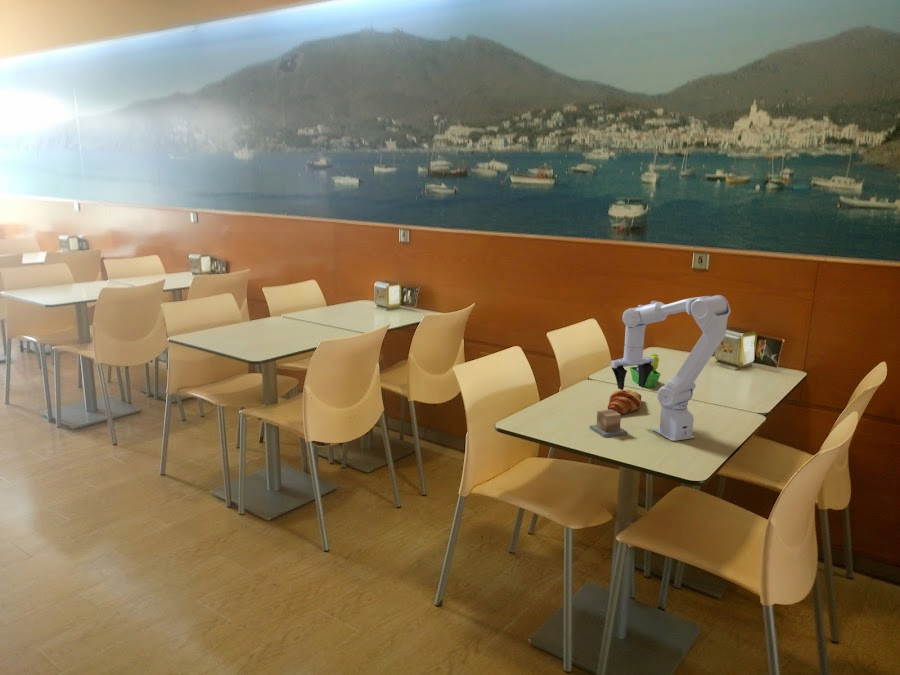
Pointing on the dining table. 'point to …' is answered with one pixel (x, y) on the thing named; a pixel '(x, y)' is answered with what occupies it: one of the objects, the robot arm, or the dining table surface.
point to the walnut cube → (608, 420)
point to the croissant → (624, 401)
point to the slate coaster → (608, 434)
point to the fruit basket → (652, 376)
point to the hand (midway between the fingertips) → (631, 387)
